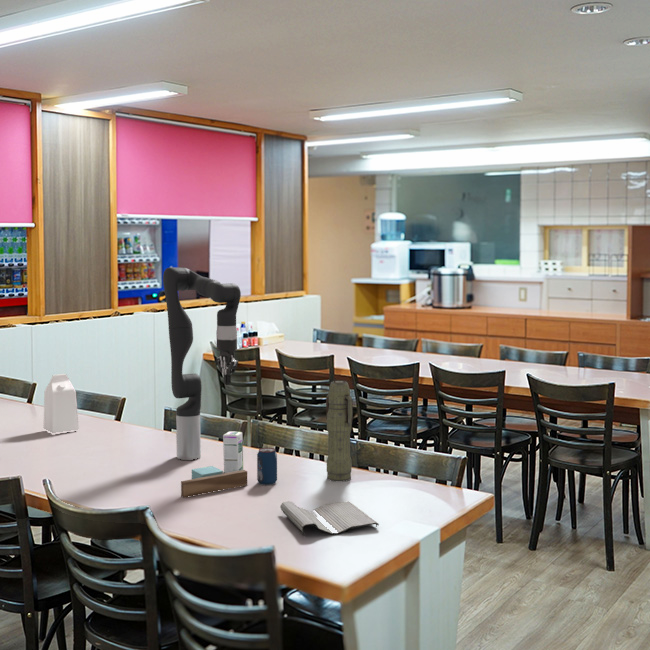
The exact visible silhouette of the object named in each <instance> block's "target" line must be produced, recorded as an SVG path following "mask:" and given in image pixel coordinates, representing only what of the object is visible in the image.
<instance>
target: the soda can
mask: <svg viewBox="0 0 650 650" xmlns="http://www.w3.org/2000/svg"><path fill="white" fill-rule="evenodd" d="M256 456H257V457H256V459H257V460H256V462H257V463H256V468H257V469H256V471H257V473H256V480H257V483H258V484H259V485H261V486H273V485H275V484H276V482H277V481H278V454H277V451H276V449H275V448H273V447H262V448H259V449H258V452H257V454H256Z"/></svg>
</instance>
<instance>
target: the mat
mask: <svg viewBox="0 0 650 650" xmlns="http://www.w3.org/2000/svg"><path fill="white" fill-rule="evenodd" d="M279 508H280V510H281V512H282V513H283V514H284V515H285V517H286V518H288V519H289V520H290V521H291V522H292V523H293V524H294V525H295V526H296V528H298V530H299V531H301V532H302V534H303V535H305V532H304V528H305V527H307V526H312V527H315V528H316V529H317V530H320V531H323V532H325V533H327V534H332V535H333V533H332V532H331V531H330V530H329V529H327V527H325V526H324V525H323V524H322V523H321V522H320V521H319V520H318V519H317V518H316V517H317V516H316V515H315V514H314V513H313V512H311V511H310V510H308V509H306V508H303V507H300V506H297V504H295V503H294V502H293V501H290V500H289V501H283V502H282V503H281V504H280V507H279ZM313 510H315V511H316V512H317V513H318V514H319V515H320V516H322V517H323V518H324V519H325V520H326V522H328V523H329V524H330V525H332V527H333V528H335V530H337V532H338V533H340V532H342V533H344V532H345V531H349V530H350V529H353V528H362V527H366V526H371V525H375V528H376V527H378V526H379V525H380V524H379V523H378V522H377V521H375V520H374V519H373V518H372V517H370V516H369V515H368V514H366V513H365V512H364V511H362V510H361V509H360V508H358V507H357V506H356V505H354V504H353V503H352V502H350V501H341V502H334V503H333V502H332V503H326V504H323V505H321V506H319V507H317V508H315V509H313ZM309 511H310V512H311V513H310V512H309ZM312 513H313V514H314V515H315V516H316V517H315V516H314V515H313V514H312ZM340 534H341V533H340Z"/></svg>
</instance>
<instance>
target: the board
mask: <svg viewBox="0 0 650 650" xmlns="http://www.w3.org/2000/svg"><path fill="white" fill-rule="evenodd" d="M245 485H246V486H248V471H247V470H245V469H243V470H239V471H234V472H229V473H224V472H223V474H218V475H212V476H207V477H202V478H196V479H192V478H191V479H186V480H182V481H180V490H181V492H180V493H181V494H180V495H181V497H182V496H183V497H182V498H184V497H186V498H189V497H188V496H191V497H194V496H193V495H196V496H199V495H198V494H201V495H203V494H202V493H206V494H209V493H208V492H211V493H214V492H213V491H216V492H219V491H218V490H221V491H224V490H223V489H226V490H229V489H228V488H231V489H235V488H234V487H236V488H241V487H246V486H245ZM240 486H241V487H240Z"/></svg>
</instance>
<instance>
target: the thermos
mask: <svg viewBox="0 0 650 650" xmlns="http://www.w3.org/2000/svg"><path fill="white" fill-rule="evenodd" d="M350 389H351V388H350V386H349V383H348V382H347V381H346V380H338V379H337V380H333V381H331V382H330V384H329V388H328V393H327V394H326V397H325V404H326V405H325V406H326V409H325V410H326V411H325V412H326V416H325V419H326V431H327V439H328V440H327V453H328V454H327V455H328V456H327V458H326V475H327V476H326V479H327V480H329V481H330V480H331V482H336V481H342V482H347V481H346V480H348V481H350V480H351V479H352V467H353V466H352V465H353V462H352V458H351V432H352V426H353V418H354V417H353V415H354V413H353V407H354V406H353V405H354V404H353V398H352V396H351V394H350V393H351V390H350ZM349 479H350V480H349Z"/></svg>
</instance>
